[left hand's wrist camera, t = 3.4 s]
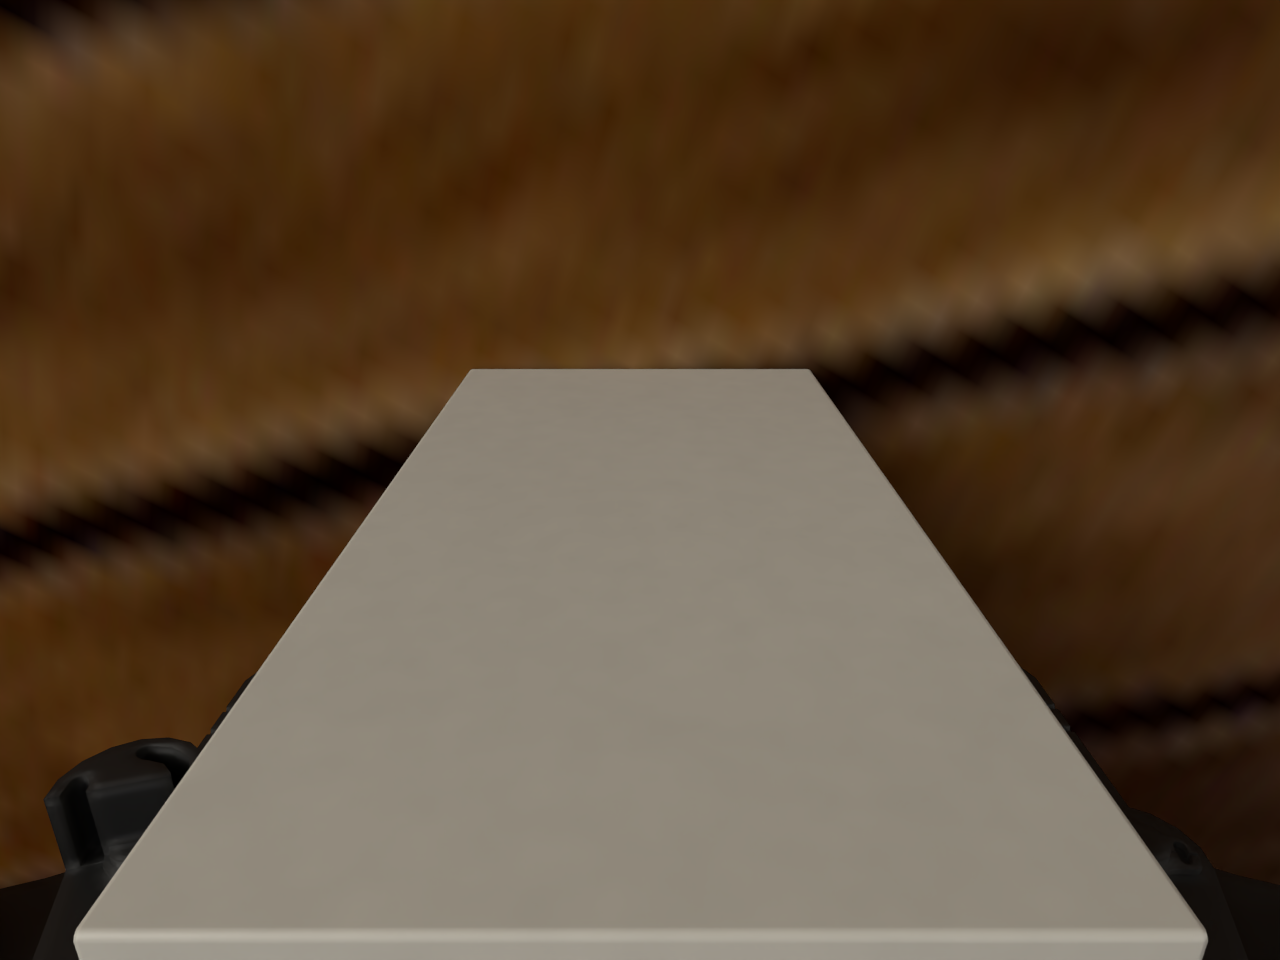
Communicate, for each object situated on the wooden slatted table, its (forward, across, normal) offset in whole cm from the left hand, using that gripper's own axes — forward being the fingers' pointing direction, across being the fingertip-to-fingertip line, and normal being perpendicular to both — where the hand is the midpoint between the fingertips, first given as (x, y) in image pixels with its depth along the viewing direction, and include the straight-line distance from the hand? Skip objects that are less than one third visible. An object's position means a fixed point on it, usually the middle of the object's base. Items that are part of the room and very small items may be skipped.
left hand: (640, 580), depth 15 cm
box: (+2, 0, -8) cm, 8 cm away
